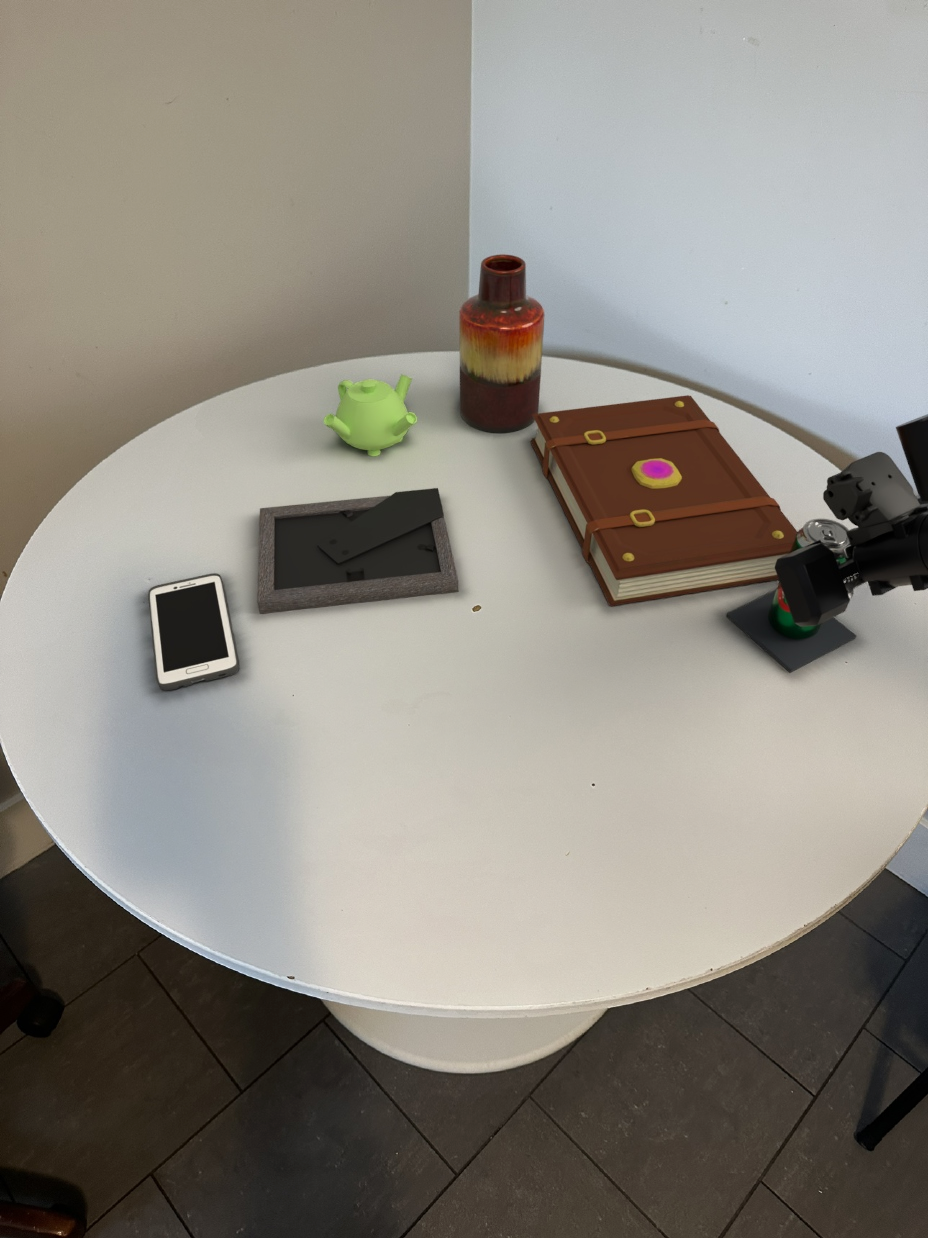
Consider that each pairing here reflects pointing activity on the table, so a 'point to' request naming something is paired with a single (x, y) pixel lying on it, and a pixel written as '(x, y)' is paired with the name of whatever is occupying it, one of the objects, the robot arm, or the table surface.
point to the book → (660, 499)
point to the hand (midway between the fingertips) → (800, 568)
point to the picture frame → (354, 551)
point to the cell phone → (191, 632)
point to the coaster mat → (782, 648)
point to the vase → (500, 349)
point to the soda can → (811, 532)
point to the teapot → (372, 414)
